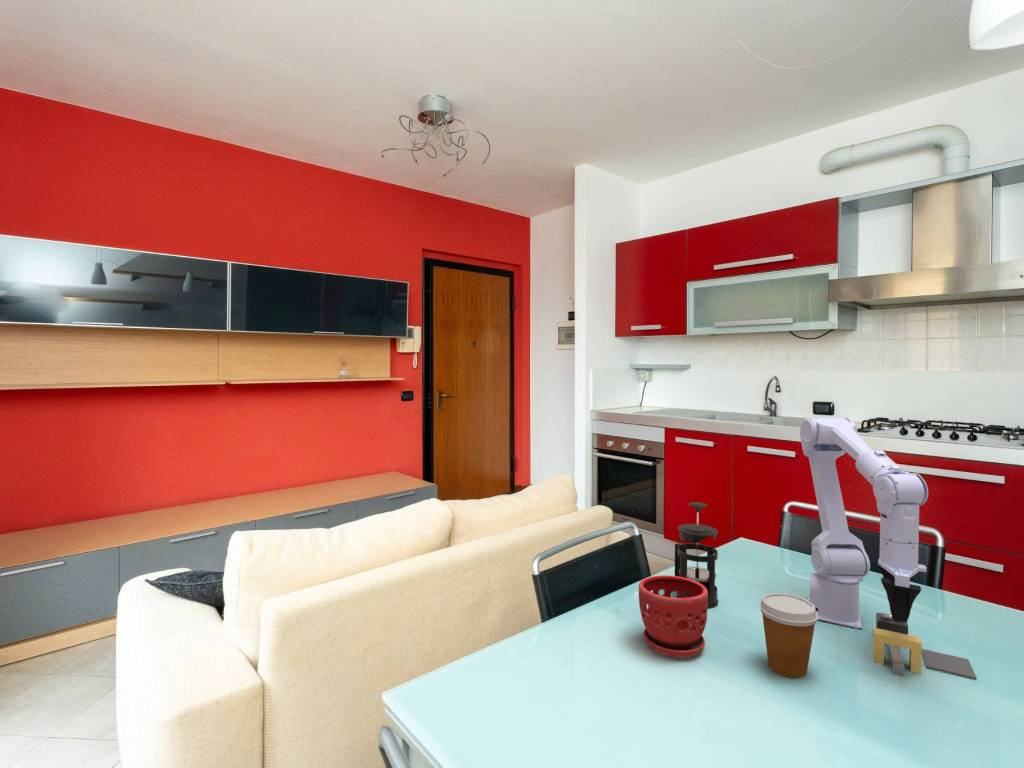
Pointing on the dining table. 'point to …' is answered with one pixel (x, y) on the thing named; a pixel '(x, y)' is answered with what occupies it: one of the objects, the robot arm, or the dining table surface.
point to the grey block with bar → (896, 658)
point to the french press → (701, 575)
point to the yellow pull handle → (900, 641)
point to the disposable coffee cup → (788, 632)
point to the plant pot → (673, 615)
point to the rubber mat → (948, 664)
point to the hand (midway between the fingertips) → (897, 612)
